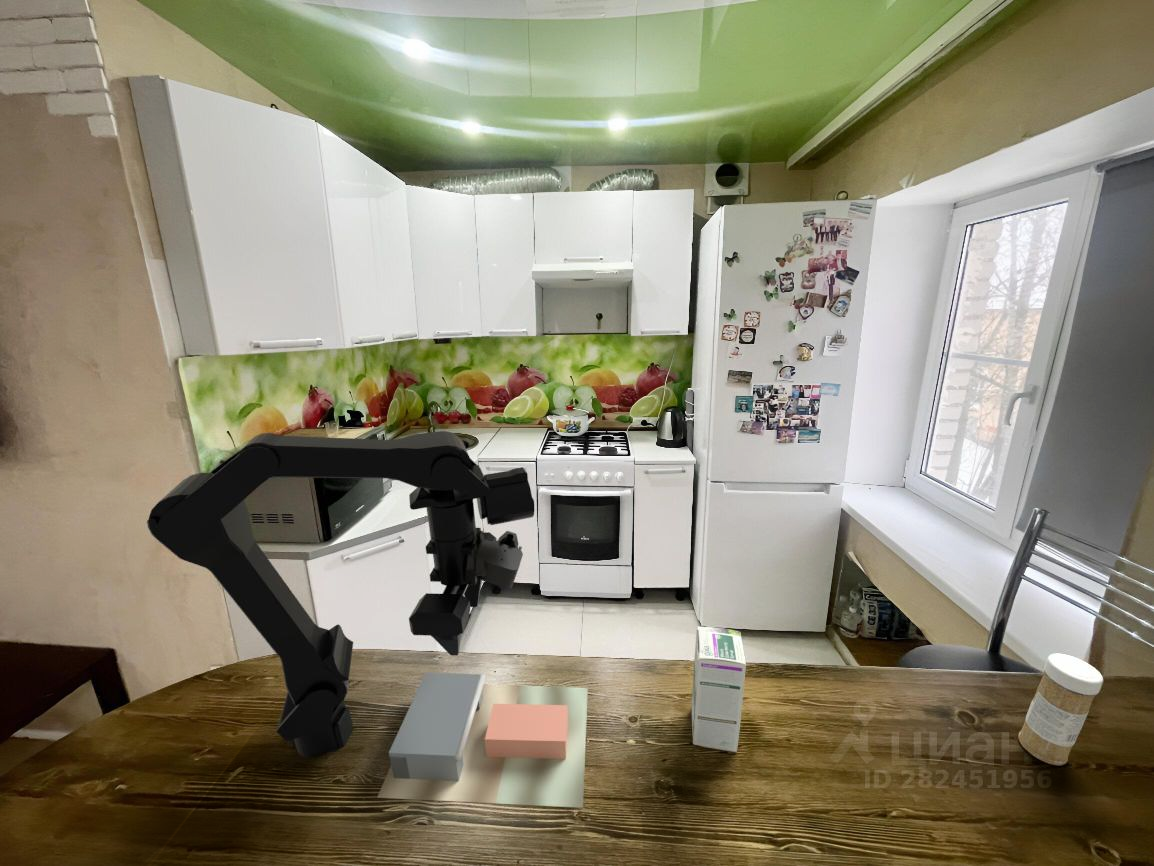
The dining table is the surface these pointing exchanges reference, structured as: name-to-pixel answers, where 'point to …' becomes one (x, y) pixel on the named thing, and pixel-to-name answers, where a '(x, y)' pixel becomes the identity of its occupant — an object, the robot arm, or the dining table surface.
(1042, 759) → the sprinkles bottle
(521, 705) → the pink eraser
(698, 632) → the syrup box
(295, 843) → the dining table surface
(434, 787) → the board
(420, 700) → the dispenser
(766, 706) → the dining table surface
